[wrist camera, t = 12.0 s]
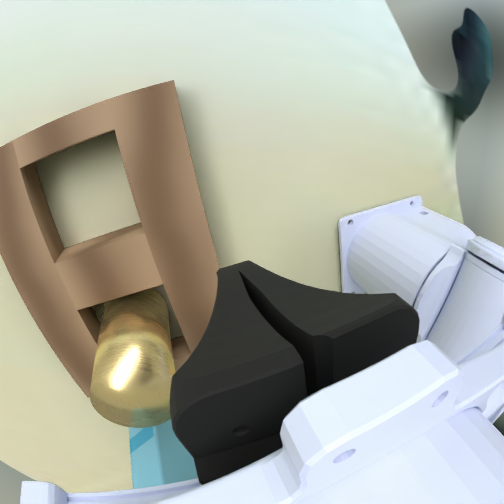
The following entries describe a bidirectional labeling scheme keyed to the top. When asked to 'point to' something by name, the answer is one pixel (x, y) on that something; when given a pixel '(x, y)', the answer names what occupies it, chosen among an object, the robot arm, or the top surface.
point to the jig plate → (115, 243)
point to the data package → (159, 457)
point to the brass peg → (134, 361)
